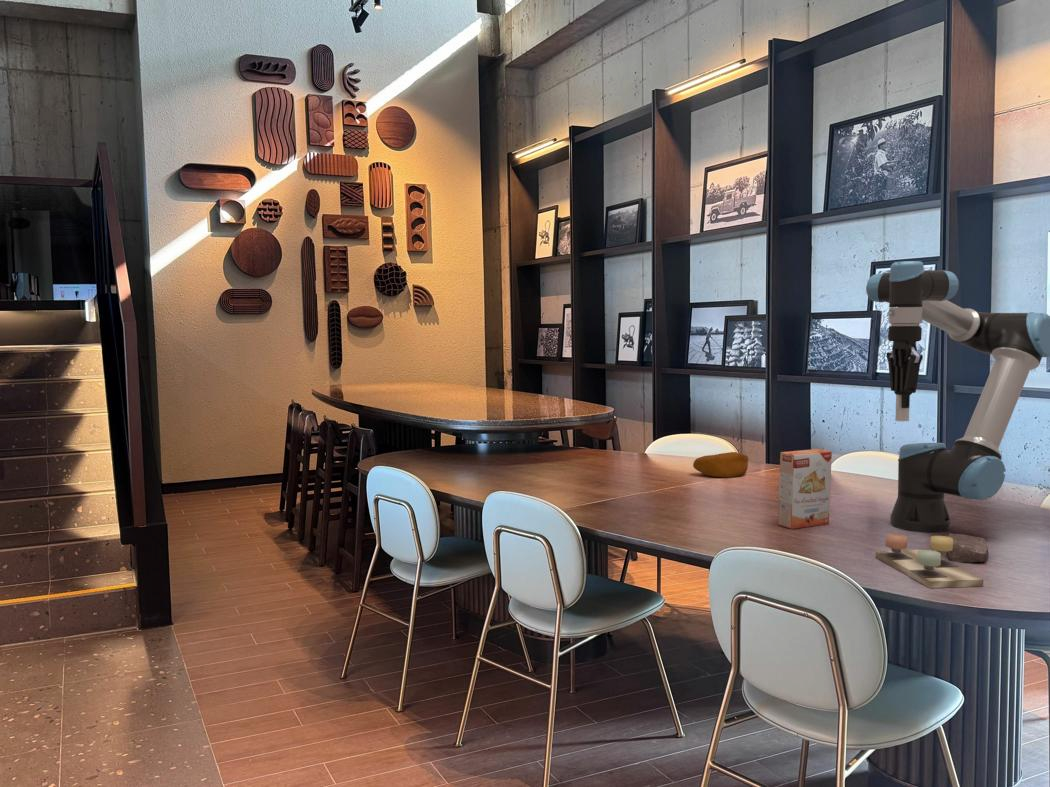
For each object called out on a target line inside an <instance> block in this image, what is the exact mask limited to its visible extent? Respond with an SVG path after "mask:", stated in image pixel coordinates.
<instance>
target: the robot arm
mask: <svg viewBox="0 0 1050 787" xmlns="http://www.w3.org/2000/svg"><path fill="white" fill-rule="evenodd" d="M889 270H890V271H889V272H882V273H877V274H876V273H875V274H873V275H871V276H870V277H869V279H868V280H867V283H866V288H865V291H866V295H867V297H868V298H869V300H870V301H872V302H873V303H874V302H875V303H888V304H889V305H888V312H887V316H888V324H890V326H889V327H888V329H887V330H888V331H887V332H888V333H887V340H888V341H889V342H893V343H892V346H891V347H892V348H891V349H892V350H891V352H887V353H886V359H887V362H888V364H887V365H888V373H889V374H888V375H889V383H890V384H889V386H890V391H892V392H894V394H895V422H910V404H911V403H910V402H911V400H910V399H911V397H910V396H912V394H915V393H916V392H917V386H918V379H919V375H920V367H921V364H922V361H923V359H924V357H923V354H918V352H917V351H918V348H917V342H921V341H922V336H923V334H922V333H923V332H922V331H923V329H922V328H923V327H922V326H921V325H920V324H922V323H923V321H924V322H925V323H928V324H929V325H931V326H933V327H935V328H938V329H940V330H942V331H944V332H946V334H947V335H948V336H949V338H950V339H951V340H954V341H955V342H957V343H959V344H961V345H963V346H965V347H967V348H970V349H971V350H972V349H973V350H974V351H978V352H981V353H983V354H988V355H991V356H992V357H993V359H994V361H993V362H994V363H993V365H992V367H991V369H990V372H989V374H988V377H987V379H986V382H985V385H984V386H983V389H982V392H981V394H980V395H979V399H978V401H977V404H976V406H975V408H974V410H973V414H972V415H971V418H970V421H969V422H968V423H969V424H968V425H967V427H966V430H965V433H964V435H963V437H961V438H958V439H955V441H954V443H953V445H952V448H951V450H949V449H947V446H946V444H945V443H944V442H919V443H918V442H917V443H909V444H903V445H902V446H900V448H899V453H898V454H899V455H898V460H897V461H898V470H897V472H898V474H897V475H898V477H897V478H898V479H897V498H896V501H895V502H894V506H893V509H892V511H891V513H890V519H889V520H890V521H889V524H890V525H891V526H893V527H894V528H895V527H896V528H898V529H902V530H907V531H913V532H924V533H926V532H927V533H936V532H939V533H940V532H946V531H948V530H950V529H951V519H950V515H949V512H948V508H947V505H946V503H945V494H946V495H950V496H955V497H961V498H963V499H967V500H978V501H984V500H988V499H990V498H992V497H994V496H995V495H996V494H997V493H998V492H999V491H1000V489H1001V488H1002V486H1003V485H1004V481H1005V478H1006V474H1005V471H1006V467H1005V464H1004V462H1003V460H1002V456H1003V455H1002V454H1001V452H1000V450H999V447H1000V445H1001V442H1002V440H1003V438H1004V436H1005V433H1006V430H1007V427H1008V425H1009V423H1010V420H1011V419H1012V415H1013V413H1014V411H1015V408H1016V405H1017V403H1018V400H1019V398H1020V396H1021V393H1022V391H1023V389H1024V386H1025V383H1026V382H1027V381H1026V380H1027V378H1028V376H1029V374H1030V371H1033V370H1035V369H1037V368H1038V367H1039V366H1040V363H1041V362H1042V359H1043V358H1048V357H1049V358H1050V314H1048V313H1045V312H1033V311H1029V312H981V311H976V310H975V309H973V308H970V307H969V308H967V307H965V308H962V307H961V306H959V305H957V304H955V303H953V302H951V301H949V300H951V299H953V298H954V297H955V296H956V295H957V292H958V290H959V282H960V281H959V279H958V277H957V275H956V274H955V273H954V272H953V271H949V270H944V269H940V270H939V269H938V270H933V269H931V270H926V269H925V266H924V263H923V261H918V260H916V261H915V260H912V261H911V260H909V261H908V260H907V261H906V260H904V261H895V262H893V263H892V264H891V265H890V269H889Z"/></svg>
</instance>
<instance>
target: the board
mask: <svg viewBox="0 0 1050 787" xmlns="http://www.w3.org/2000/svg"><path fill="white" fill-rule="evenodd" d="M919 550H920V549H901V552H900V553H896V552H892V550H875V558H876V559H878V560H880V561H881V562H884V563H885V564H887V565H888V566H890V567H892V568H893V569H896V570H897V571H899V572H901V573H902V574H904V575H906V576H908V577H910V578H911V579H913V580H914V581H917V582H919V583H920V584H921V585H923V586H926V587H927V588H929V589H943V588H944V589H945V588H946V589H947V588H971V587H972V588H974V587H975V588H976V587H984V579H983V578H981V577H980V576H978V575H975V574H973V573H972V572H969V571H967V570H965V569H963V568H961V567H960V565H958V564H956V563H954V562H953V561H950V560H948V559H945V558H944V559H943V558H941V565H940V566H934V570H926V569H924V565H921V564H919V563H918V551H919ZM921 550H924V549H922V548H921Z"/></svg>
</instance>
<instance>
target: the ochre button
mask: <svg viewBox="0 0 1050 787" xmlns="http://www.w3.org/2000/svg"><path fill="white" fill-rule="evenodd" d="M931 549H932V551H937V552H939V553H941V556H946V555H947V551H952V550H953V539H952V538H950V537H948V536H945V535H932V536H930V550H931Z"/></svg>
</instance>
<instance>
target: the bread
mask: <svg viewBox="0 0 1050 787" xmlns="http://www.w3.org/2000/svg"><path fill="white" fill-rule="evenodd" d="M692 463H693V464H692V467H693V468H694V470H696V471H698V472H699V473H701V474H704V475H705V476H708V477H716V478H723V479H724V478H725V479H727V478H734V477H735V478H736V477H739V476H743V475H745V474H746V473H747V471H748V468H749V466H748V465H749V456H747V455H745V454H742V453H740V452H736V451H731V452H721V453H716V454H709V455H703V456H700V457H697V458H696V459H694V461H693V462H692Z"/></svg>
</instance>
